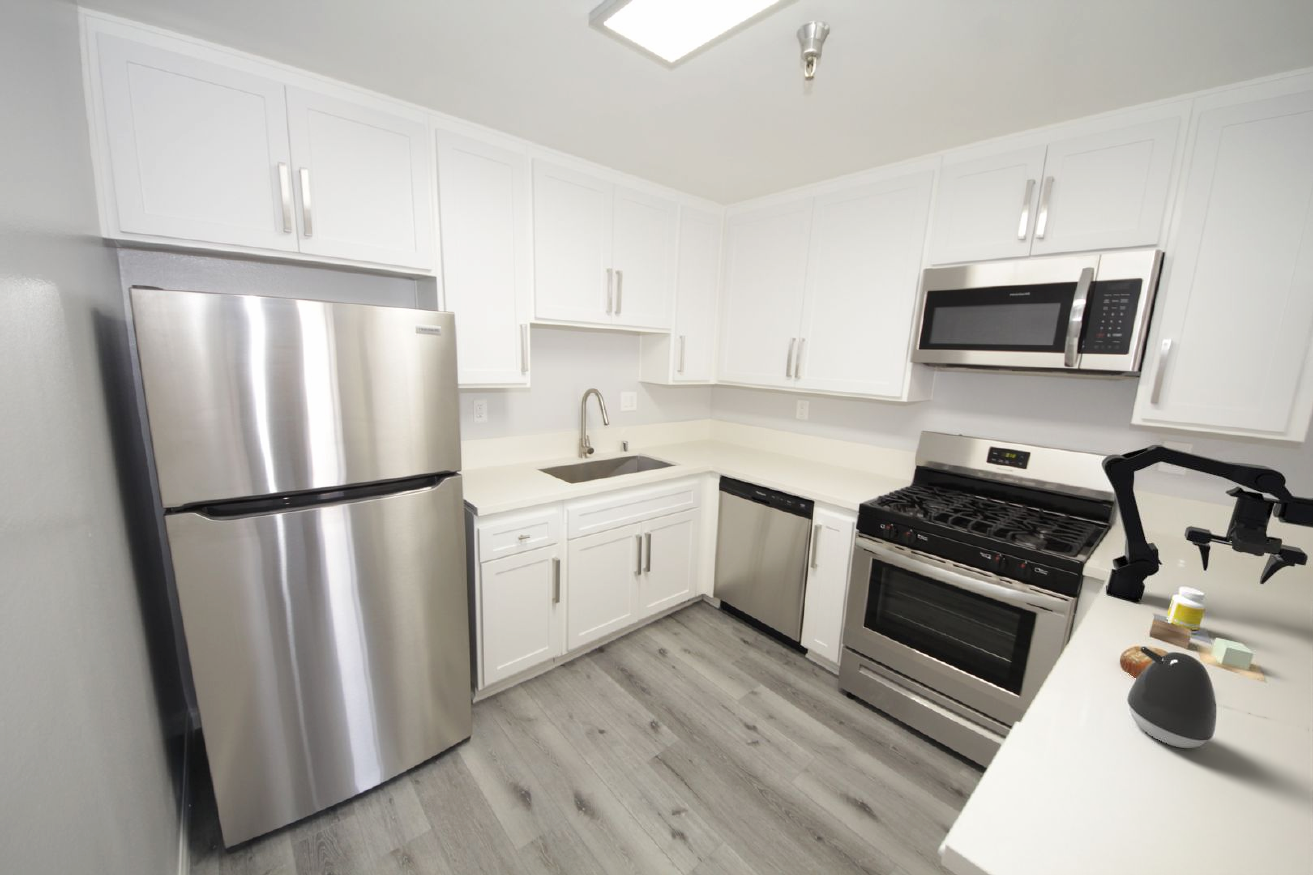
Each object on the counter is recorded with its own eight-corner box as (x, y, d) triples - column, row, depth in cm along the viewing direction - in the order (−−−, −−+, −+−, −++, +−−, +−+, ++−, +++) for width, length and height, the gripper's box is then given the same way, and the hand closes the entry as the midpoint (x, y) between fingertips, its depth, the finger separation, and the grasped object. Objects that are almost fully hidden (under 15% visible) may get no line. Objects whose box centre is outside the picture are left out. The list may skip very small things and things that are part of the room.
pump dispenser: (1117, 702, 90) (1138, 629, 87) (1199, 732, 83) (1224, 655, 80) (1123, 734, 82) (1146, 655, 79) (1214, 770, 76) (1242, 686, 73)
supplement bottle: (1204, 636, 113) (1216, 598, 111) (1177, 632, 114) (1188, 594, 112) (1184, 623, 118) (1195, 586, 116) (1158, 619, 119) (1169, 583, 117)
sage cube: (1221, 663, 103) (1226, 647, 102) (1210, 653, 106) (1216, 637, 105) (1248, 670, 101) (1253, 653, 100) (1236, 659, 104) (1241, 643, 104)
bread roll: (1169, 690, 100) (1168, 650, 101) (1209, 702, 90) (1206, 657, 92) (1110, 677, 103) (1110, 638, 104) (1142, 688, 93) (1141, 644, 95)
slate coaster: (1155, 629, 116) (1156, 627, 116) (1152, 615, 123) (1153, 613, 122) (1211, 646, 110) (1212, 644, 110) (1204, 630, 117) (1205, 628, 117)
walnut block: (1148, 639, 112) (1152, 623, 111) (1149, 633, 114) (1153, 617, 114) (1186, 652, 107) (1191, 636, 107) (1186, 645, 110) (1191, 629, 109)
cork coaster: (1200, 663, 103) (1201, 661, 103) (1194, 645, 110) (1195, 643, 110) (1266, 685, 97) (1267, 682, 97) (1255, 664, 104) (1256, 662, 104)
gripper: (1197, 513, 117) (1181, 573, 120) (1324, 537, 104) (1302, 603, 107) (1192, 504, 125) (1176, 560, 128) (1309, 525, 112) (1289, 586, 115)
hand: (1232, 576), depth 119 cm, fingers open, 9 cm apart
